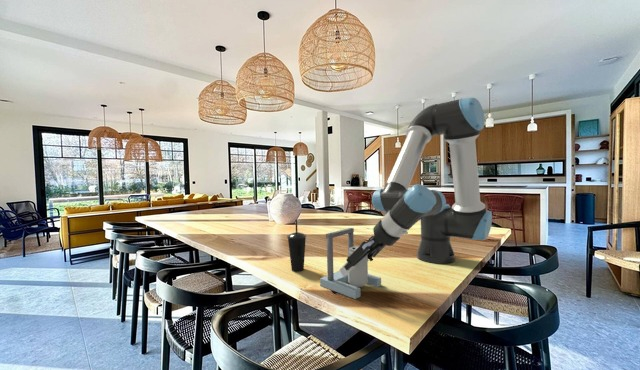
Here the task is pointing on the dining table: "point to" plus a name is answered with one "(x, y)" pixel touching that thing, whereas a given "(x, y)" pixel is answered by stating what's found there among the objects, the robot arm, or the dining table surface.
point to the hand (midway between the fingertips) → (349, 270)
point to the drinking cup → (297, 250)
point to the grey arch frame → (337, 279)
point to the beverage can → (358, 271)
